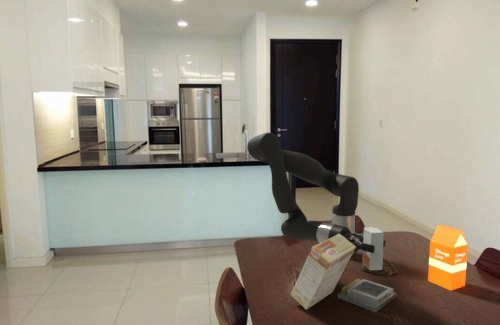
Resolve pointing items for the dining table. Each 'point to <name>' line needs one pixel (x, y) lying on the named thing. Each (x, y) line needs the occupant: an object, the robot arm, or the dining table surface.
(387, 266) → the bread roll
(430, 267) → the orange juice
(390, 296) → the jig
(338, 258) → the coffeecake box
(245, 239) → the dining table surface
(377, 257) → the skincare box
